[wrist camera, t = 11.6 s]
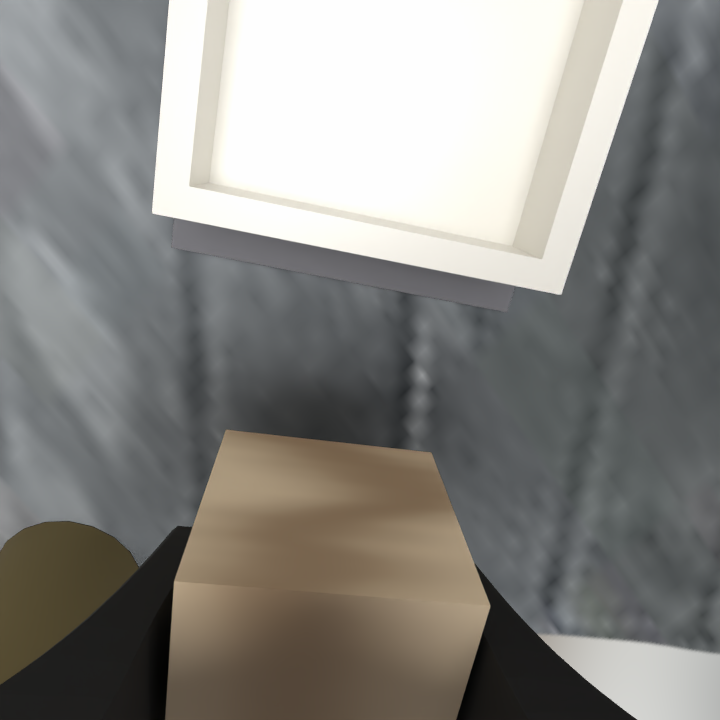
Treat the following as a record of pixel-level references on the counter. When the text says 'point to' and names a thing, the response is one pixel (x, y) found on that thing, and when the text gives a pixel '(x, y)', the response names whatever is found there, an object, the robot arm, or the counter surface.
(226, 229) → the flat gray panel
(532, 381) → the counter surface
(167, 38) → the white square tray
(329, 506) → the wooden block
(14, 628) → the cork
